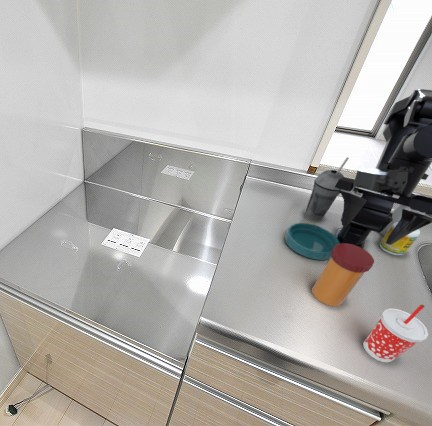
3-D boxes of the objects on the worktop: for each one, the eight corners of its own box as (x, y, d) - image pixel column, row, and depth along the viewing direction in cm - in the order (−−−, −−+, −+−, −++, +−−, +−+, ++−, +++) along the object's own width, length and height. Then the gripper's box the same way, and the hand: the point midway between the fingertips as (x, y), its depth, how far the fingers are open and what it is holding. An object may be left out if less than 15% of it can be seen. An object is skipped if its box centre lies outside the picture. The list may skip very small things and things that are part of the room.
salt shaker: (396, 229, 84) (424, 191, 76) (405, 242, 79) (436, 203, 72) (372, 226, 85) (397, 188, 77) (379, 238, 81) (406, 199, 73)
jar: (315, 280, 70) (337, 242, 62) (344, 293, 66) (372, 254, 59) (308, 296, 66) (332, 257, 59) (340, 311, 63) (369, 272, 55)
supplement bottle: (383, 239, 81) (403, 211, 75) (407, 250, 77) (430, 222, 71) (375, 247, 78) (395, 219, 72) (399, 259, 75) (422, 230, 69)
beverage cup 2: (369, 330, 59) (409, 285, 51) (405, 356, 55) (455, 312, 46) (351, 344, 57) (390, 299, 49) (387, 373, 53) (437, 329, 44)
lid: (333, 244, 63) (337, 238, 62) (372, 258, 60) (376, 252, 59) (327, 262, 59) (330, 256, 58) (368, 278, 56) (372, 272, 55)
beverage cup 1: (301, 207, 94) (327, 148, 82) (328, 214, 90) (359, 154, 78) (297, 218, 89) (324, 158, 77) (325, 227, 85) (358, 165, 73)
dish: (290, 225, 86) (294, 217, 84) (338, 243, 80) (343, 235, 78) (278, 247, 79) (281, 239, 77) (330, 268, 72) (335, 260, 71)
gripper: (336, 144, 63) (300, 210, 67) (444, 159, 46) (387, 246, 50) (370, 159, 66) (334, 221, 71) (482, 179, 49) (426, 259, 53)
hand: (364, 234), depth 61 cm, fingers open, 9 cm apart
